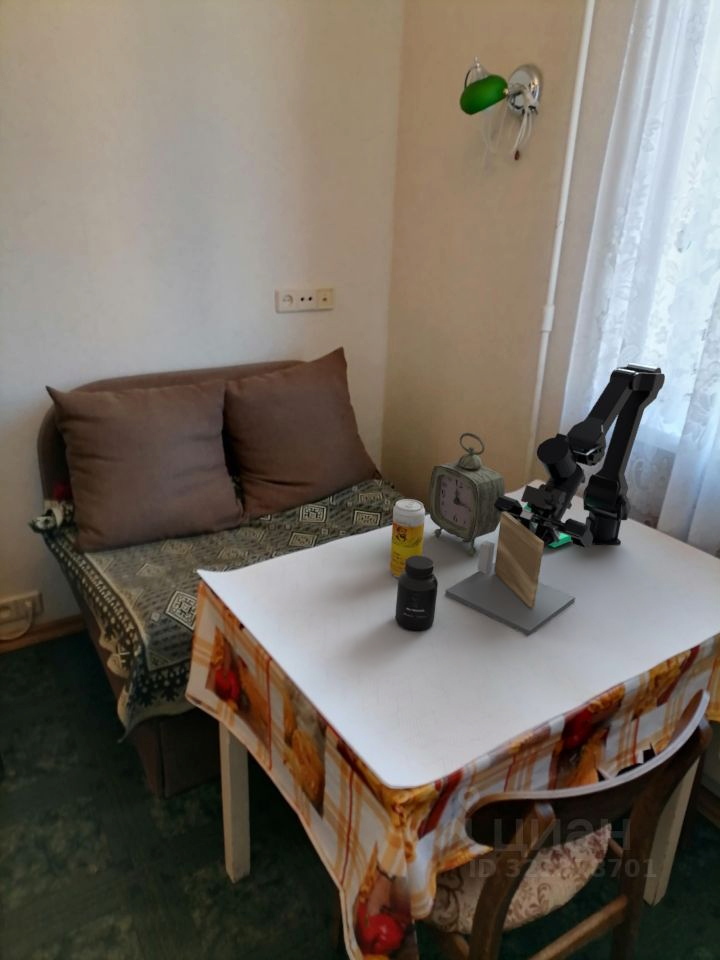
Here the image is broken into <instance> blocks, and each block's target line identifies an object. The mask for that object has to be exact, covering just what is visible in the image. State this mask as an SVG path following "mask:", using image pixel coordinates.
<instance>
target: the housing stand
mask: <svg viewBox="0 0 720 960" xmlns="http://www.w3.org/2000/svg"><path fill="white" fill-rule="evenodd" d="M495 546H496V544H495V542H492V541H489V540H484V541H482V542H480V546H479V554H478V556H479V557H478V564H477V571H476V572H475V573H473V574H471V575H469V576H468V577H466V578H465V579H463V580H461V581H459V582H457V583H456V584H454V585H452V586H451V587H449V588H447V589H445V596H447V597H449V598H451V599H453V600H455V601H457V602H459V603H462V604H463V605H465V606H467V607H470V609H471V608H472V609H474V610H475V611H477V612H479V613H481V614H483V615H486V616H487V617H490V618H492V619H494V620H495V621H498V622H500V623H502V624H504V625H506V626H508V627H510V628H512V629H514V630H516V631H518V632H520V633H522V634H524V635H526V636H528V637H530V636H531V635H532V634H533V633H535V632H536V631H537V630H539V629H540V628H541V627H543V626H544V625H545V624H547V623H548V622H550V621H551V620H552V619H554V618H555V617H556V616H558V614H561V613H562V611H564V610H565V609H567V608H568V607H570V606H571V605H572V604H574V603H575V600H576V597H575V596H573V595H571V594H568V593H567V592H564V591H562V590H560V589H557V588H555V587H552V586H549V585H548V584H545V583H542V582H541V581H538V586H537V593H536V599H535V606H533V607H529V606H528V605H527V604H526V603H525V602H524V601H523V600H522V599H521V598H520V597H519V596H518V595H517V594H516V593H515V592H514V591H513V590H512V589H511V588H510V587H509V586H508V585H507V584H506V583H505V582H504V581H503V580H502V579H501V578H500V577H499V576H498V575H497V574H496V573H495V572H494V569H495V562H493V561H494V554H495Z"/></svg>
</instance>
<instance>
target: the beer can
mask: <svg viewBox="0 0 720 960" xmlns="http://www.w3.org/2000/svg"><path fill="white" fill-rule="evenodd" d="M423 503H424V502H423ZM423 503H422V502H421V501H419V500H417V499H414V498H413V499H412V498H405V499H400V500H398V501H396V502H395V505H394V506H393V508H392V509H393V511H392V512H393V513H392V526H391V543H390V544H391V545H390V561H389V562H390V564H389V570H390V572H391V573H392V575H393V576H394V577H395V578H396V579H399V576H400V575H401V573H402V572H404V571H405V564H406V560H407V558H409V557H411V556H423V543H424V530H425V520H426V519H425V518H426V517H425V515H426V509H425V507H424V504H423Z"/></svg>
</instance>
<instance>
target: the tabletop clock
mask: <svg viewBox="0 0 720 960" xmlns="http://www.w3.org/2000/svg"><path fill="white" fill-rule="evenodd" d="M464 437H471V438H474V439H475V440H477V441H478V442H479V443H480V445H481V451H476V450H474V449H475V447H473V446H469V447H467V446H465V445H464V444H463V439H464ZM459 445H460V446H461V449H463V450H464V451H465V452H467V453H466V454H462V455H461V456H460V457H459V460H458V459H457V460H455V461H450V462H447V463H443V464H438V465H435V466H434V467H433V469H432V472H431V477H430V483H429V490H428V511H429V517H430V520H431V521H432V522H433V523H434V524H435V526H438V527H439V528H436V529H435V530H434V532H433V534H434V535H435V536H436V537H439V536H441V535H442V531H443V530H444V531H445V532H447V533H449V534H450V535H453V536H455V537H457V538H459V539H462V540H465V541H466V540H467V541H470V548H469V549H468V554H469V555H470V556H474V555H476V554H477V549H476V547H475V541H476V539H477V538H479V537H482V536H485V535H488V534H491V533H495V531H496V530H497V528H498V526H499V525H500V520H501V515H500V513H499V512H498V511H497V509H496V508H495V506H494V504H495V502H496V500H497V498H499V497H500V496H503V495H504V496H506V495H505V494H506V483H505V478H504V477H503V475H502V474H501V473H499V472H497V471H496V470H493V469H491V468H489V467H487V466H485V465H483V463H482V459H481V458H480V456H478V455H482V454H483V453H484V452H485V448H486V447H485V444H484V441H483V439H482V438H480V437H479V436H478V435H477V434H474V433H471V432H465V433H462V434H461V436H460V437H459Z"/></svg>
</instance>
